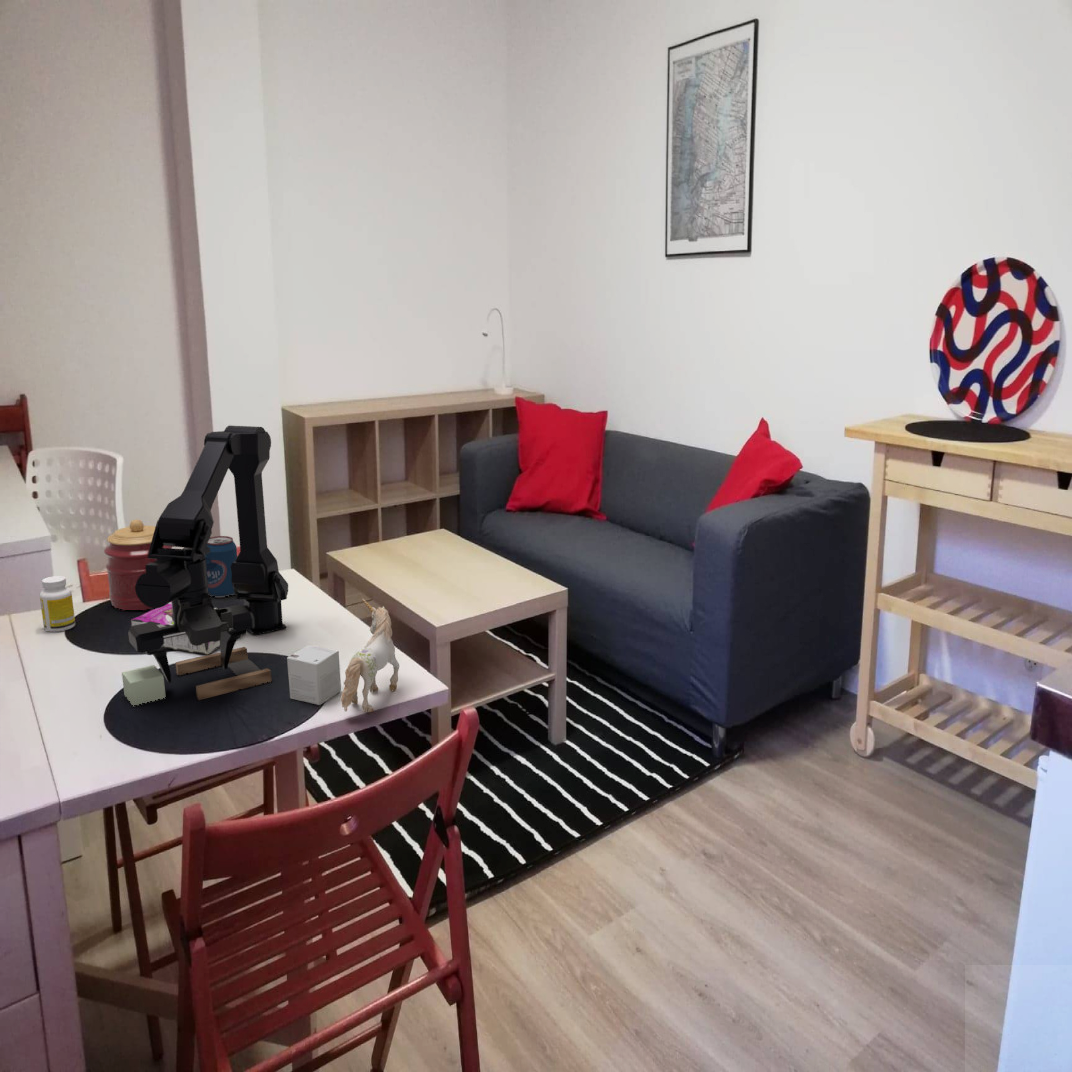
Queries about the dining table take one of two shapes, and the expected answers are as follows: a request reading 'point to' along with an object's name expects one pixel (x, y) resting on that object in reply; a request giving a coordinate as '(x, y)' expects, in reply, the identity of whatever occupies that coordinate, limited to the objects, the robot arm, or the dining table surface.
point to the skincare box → (314, 674)
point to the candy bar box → (181, 642)
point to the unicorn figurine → (371, 661)
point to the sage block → (143, 685)
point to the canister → (128, 563)
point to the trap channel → (241, 667)
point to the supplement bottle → (56, 604)
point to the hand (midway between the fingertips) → (197, 675)
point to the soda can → (220, 565)
